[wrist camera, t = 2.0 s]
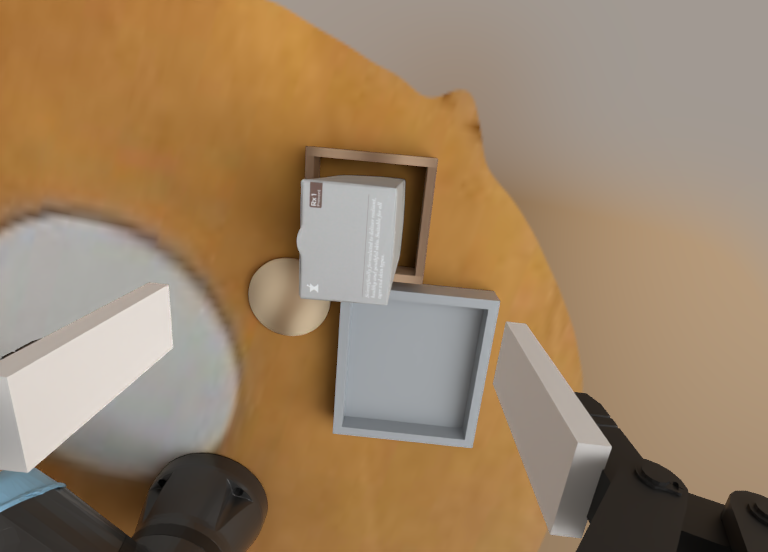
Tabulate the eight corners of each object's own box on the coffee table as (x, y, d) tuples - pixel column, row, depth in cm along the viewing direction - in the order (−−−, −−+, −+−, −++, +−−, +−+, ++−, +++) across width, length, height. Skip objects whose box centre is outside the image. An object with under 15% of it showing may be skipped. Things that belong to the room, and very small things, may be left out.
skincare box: (400, 256, 42) (399, 315, 27) (333, 250, 42) (294, 306, 27) (407, 174, 40) (410, 188, 25) (336, 168, 40) (295, 179, 25)
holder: (308, 264, 43) (302, 272, 40) (312, 146, 39) (305, 146, 36) (421, 275, 43) (422, 284, 40) (435, 158, 39) (438, 158, 36)
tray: (336, 416, 49) (332, 433, 46) (345, 276, 43) (341, 285, 40) (468, 430, 48) (472, 448, 45) (493, 291, 43) (500, 301, 40)
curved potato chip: (250, 329, 46) (248, 331, 45) (249, 253, 43) (247, 254, 42) (328, 337, 45) (327, 339, 45) (332, 261, 43) (331, 263, 42)
